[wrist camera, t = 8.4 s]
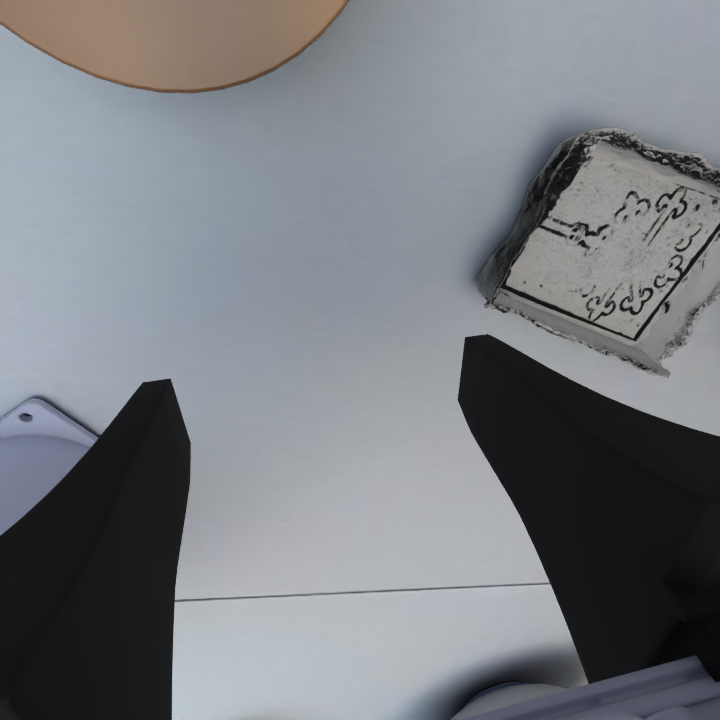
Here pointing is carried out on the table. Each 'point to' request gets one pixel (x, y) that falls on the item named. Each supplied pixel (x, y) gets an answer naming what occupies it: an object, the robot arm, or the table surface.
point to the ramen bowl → (505, 697)
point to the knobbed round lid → (171, 38)
